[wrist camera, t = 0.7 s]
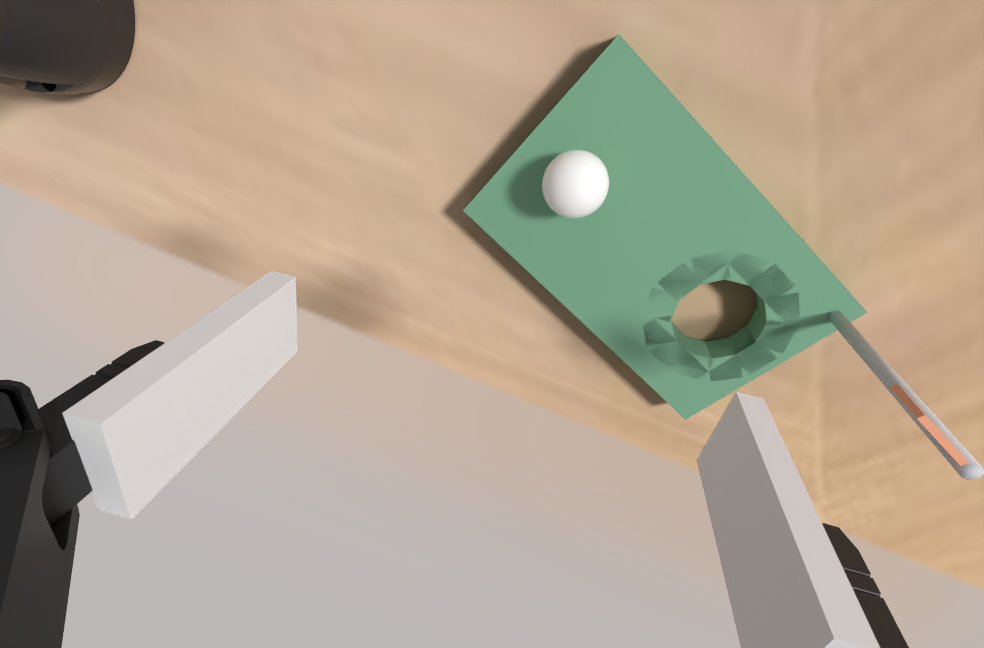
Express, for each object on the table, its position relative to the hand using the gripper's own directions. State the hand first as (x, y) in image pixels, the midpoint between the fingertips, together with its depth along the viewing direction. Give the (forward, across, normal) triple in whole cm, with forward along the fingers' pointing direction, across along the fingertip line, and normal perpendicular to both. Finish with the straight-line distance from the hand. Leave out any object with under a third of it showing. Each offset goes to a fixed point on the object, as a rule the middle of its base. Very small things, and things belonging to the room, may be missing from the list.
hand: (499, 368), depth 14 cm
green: (+23, +8, -3) cm, 24 cm away
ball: (+18, +1, +1) cm, 18 cm away
